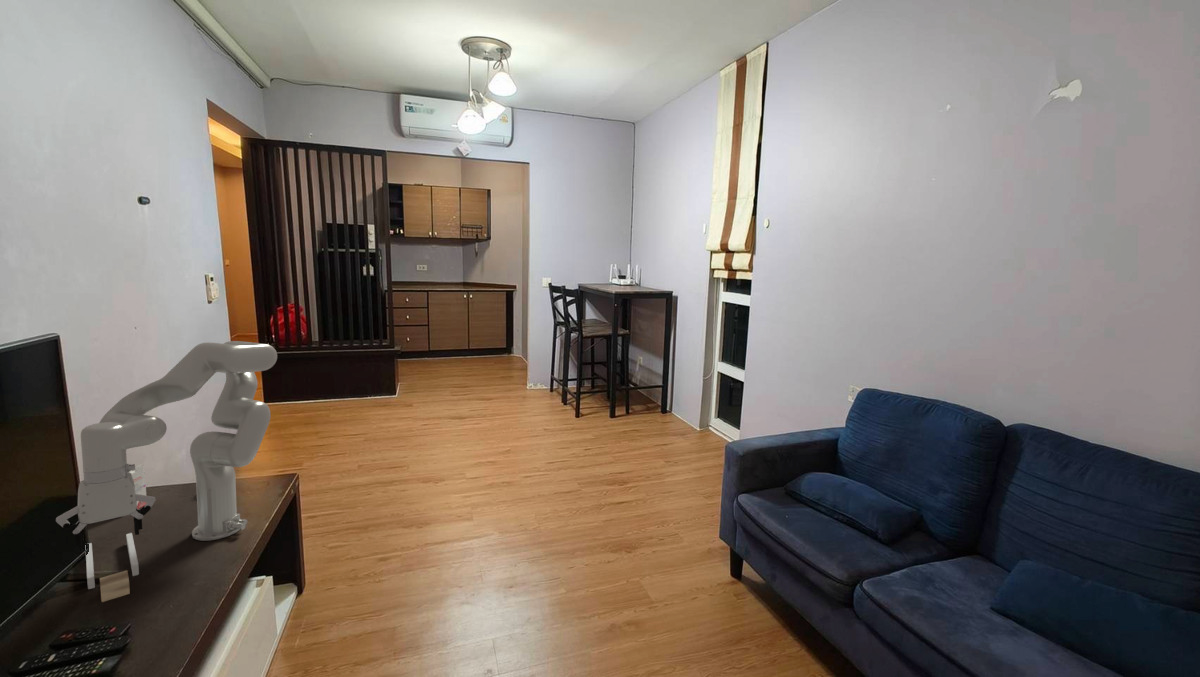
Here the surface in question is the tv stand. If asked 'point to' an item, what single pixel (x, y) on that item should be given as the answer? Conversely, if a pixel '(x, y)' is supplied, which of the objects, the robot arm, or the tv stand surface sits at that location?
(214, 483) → the robot arm
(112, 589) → the maple block
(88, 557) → the frosted channel
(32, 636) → the tv stand surface
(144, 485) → the ink cartridge box
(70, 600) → the tv stand surface
